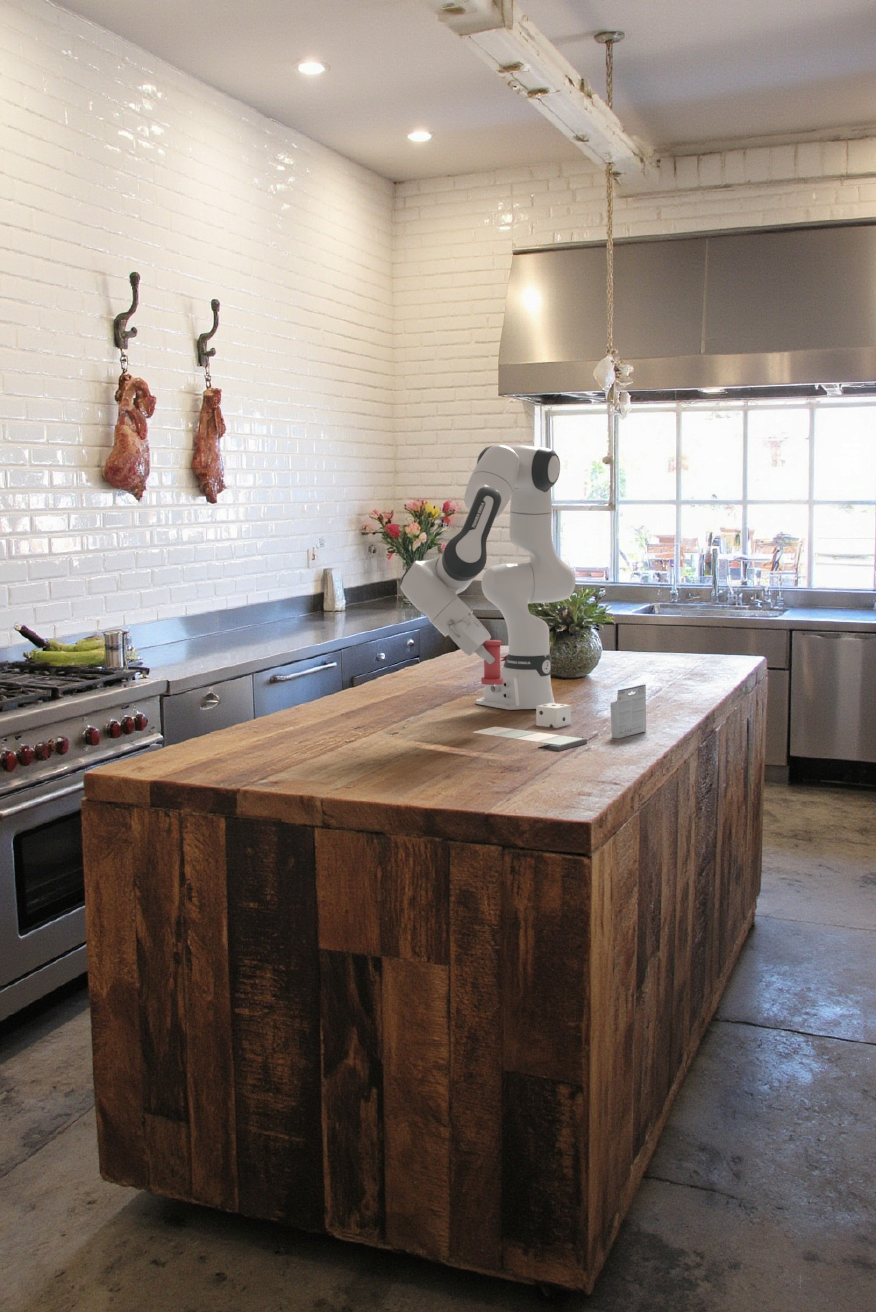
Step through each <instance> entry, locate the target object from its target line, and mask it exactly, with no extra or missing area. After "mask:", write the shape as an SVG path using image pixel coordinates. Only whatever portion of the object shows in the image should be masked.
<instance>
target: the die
mask: <svg viewBox="0 0 876 1312" xmlns="http://www.w3.org/2000/svg"><path fill="white" fill-rule="evenodd" d="M535 710H536V711H535V712H536V713H535V717H536V719H535V720H536V726H539V727H546V728H553V729H554V728H555V729H558V728H562V727H566V726H570V725H572V704H566V703H565V704H563V703H556V702H555V703H548V704H543V705H539V706H536V709H535Z"/></svg>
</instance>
